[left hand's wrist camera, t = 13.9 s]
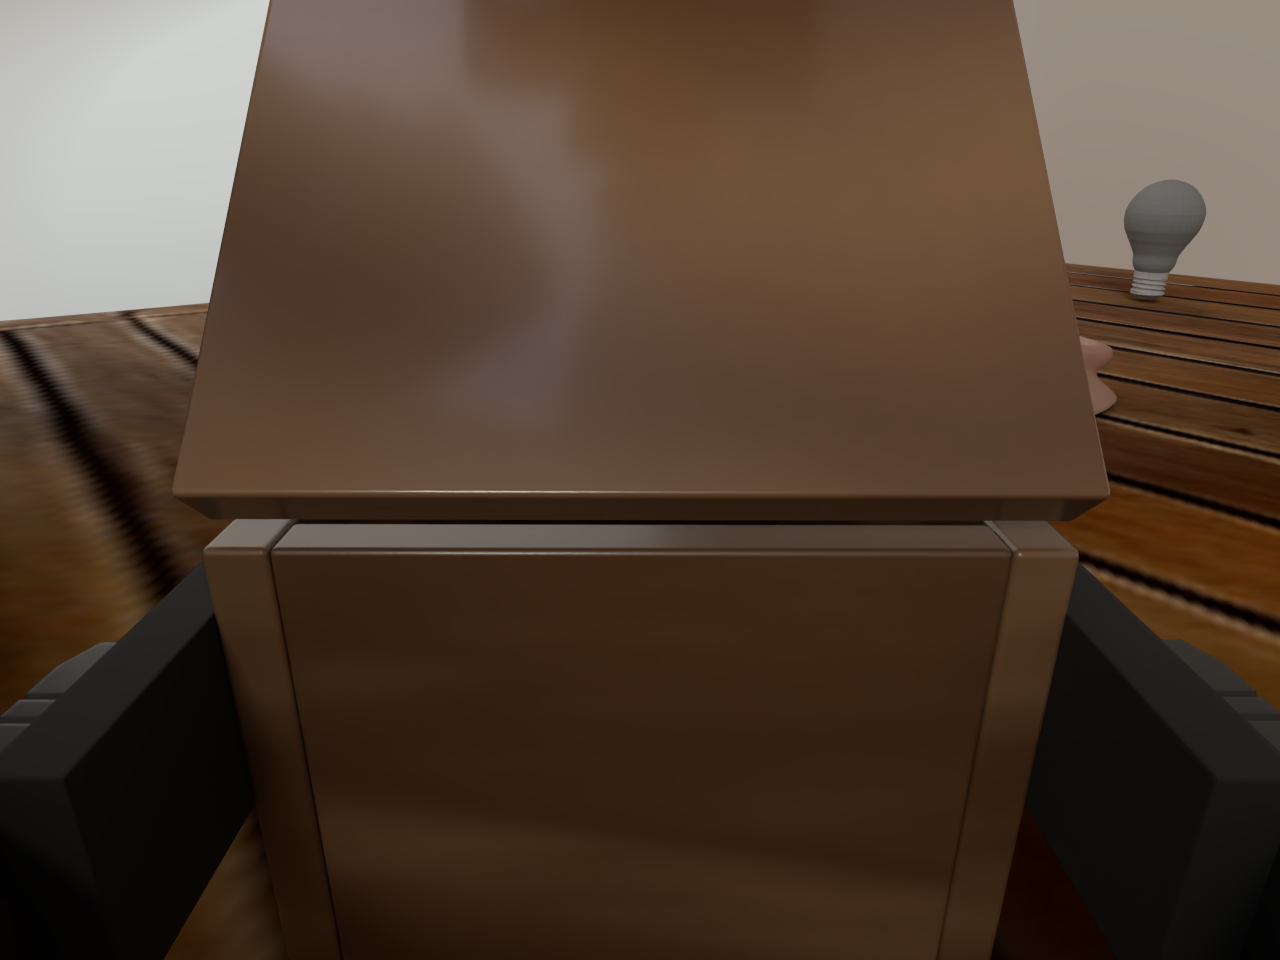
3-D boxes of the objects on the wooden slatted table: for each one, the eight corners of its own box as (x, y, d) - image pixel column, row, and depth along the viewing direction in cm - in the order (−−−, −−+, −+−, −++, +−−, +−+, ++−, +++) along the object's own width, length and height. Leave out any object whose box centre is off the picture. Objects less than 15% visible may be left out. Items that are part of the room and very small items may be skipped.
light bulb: (1124, 303, 73) (1150, 180, 69) (1097, 292, 78) (1120, 178, 75) (1198, 305, 72) (1228, 181, 69) (1165, 293, 78) (1192, 178, 74)
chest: (485, 583, 26) (464, 301, 23) (792, 584, 26) (815, 302, 23) (312, 1085, 12) (198, 549, 9) (965, 1085, 12) (1084, 551, 9)
